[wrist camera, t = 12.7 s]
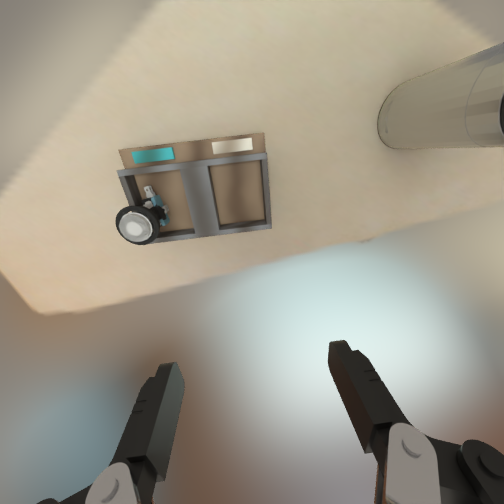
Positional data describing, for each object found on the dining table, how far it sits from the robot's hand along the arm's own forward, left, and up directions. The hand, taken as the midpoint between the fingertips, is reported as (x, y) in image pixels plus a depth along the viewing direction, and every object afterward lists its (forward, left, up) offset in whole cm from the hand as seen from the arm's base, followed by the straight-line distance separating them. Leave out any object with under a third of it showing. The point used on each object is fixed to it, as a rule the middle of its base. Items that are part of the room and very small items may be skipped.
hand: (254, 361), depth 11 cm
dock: (+6, -4, -30) cm, 31 cm away
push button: (+14, -3, -29) cm, 32 cm away
